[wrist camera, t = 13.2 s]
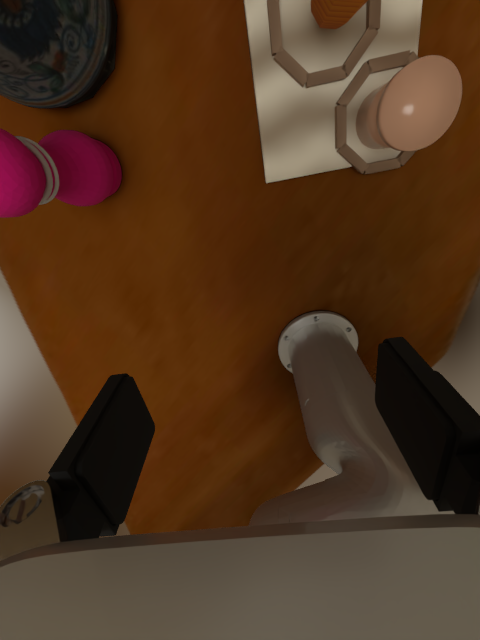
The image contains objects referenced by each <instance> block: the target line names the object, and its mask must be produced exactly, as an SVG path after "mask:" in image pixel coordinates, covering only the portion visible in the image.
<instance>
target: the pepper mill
mask: <svg viewBox="0 0 480 640" xmlns="http://www.w3.org/2000/svg"><path fill="white" fill-rule="evenodd" d="M121 179H122V171H121V166H120V163H119V161H118V159H117V157H116V155H115V154H114V152H113V151H112V150H111V149H110V148H109V147H108V146H107V145H105V144H104V143H102V142H100V141H98V140H95V139H92V138H91V137H89V136H87V135H86V134H84V133H81V132H78V131H74V130H58V131H55V132H52V133H50V134H48V135H47V136H45V137H44V138H43V139H42V140H41V141H40V142H39V143H38V144H37V143H36V142H34V141H32V140H30V139H27V138H24V137H20V136H13V135H11V134H10V133H8V132H7V131H5V130H3V129H0V217H18V216H22V215H25V214H27V213H29V212H31V211H32V210H34V209H35V208H36V207H37V206H38V205H40V204H45V203H48V202H49V201H51V200H52V199H53V198H54V197H56V198H57V199H59V200H61V201H63V202H65V203H68V204H72V205H76V206H91V205H95V204H98V203H100V202H101V201H103V200H104V199H105V198H106V197H108V196H110V195H112V194H114V193H115V192H116V191H117V189H118V188H119V186H120V184H121Z"/></svg>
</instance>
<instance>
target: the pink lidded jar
mask: <svg viewBox="0 0 480 640" xmlns="http://www.w3.org/2000/svg"><path fill="white" fill-rule="evenodd" d="M461 97H462V81H461V77H460V74H459V71H458V69H457V68H456V66H455V65H454V64H453V63H452V62H451V61H450V60H448V59H447V58H444V57H442V56H437V55H431V56H425V57H422V58H419V59H417V60H415V61H413V62H411V63H410V64H408V65H407V66H405V67H403V68H402V69H401V70H400V71H398V72H397V73H396V74H395V75H394V76H393V77H392V79H391V80H390V81H389V82H387V83H386V84H384V85H382V86H380V87H379V88H377V89H375V90H374V91H372V92H371V93H370V94H369V95H368V96H367V97H366V98H365V99H364V101H363V102H362V104H361V106H360V108H359V110H358V113H357V117H356V132H357V136H358V138H359V140H360V141H361V142H362V144H364V145H365V146H366V147H368V148H371V149H385V148H392V149H394V150H397V151H414V150H419V149H422V148H425V147H427V146H429V145H431V144H432V143H434V142H435V141H436V140H437V139H439V138H440V137H441V136H442V135H443V134H444V133H445V132H446V130H447V129H448V128H449V126H450V125H451V123H452V122H453V120H454V118H455V116H456V114H457V112H458V109H459V106H460V102H461Z"/></svg>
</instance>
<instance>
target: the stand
mask: <svg viewBox="0 0 480 640" xmlns="http://www.w3.org/2000/svg"><path fill="white" fill-rule="evenodd" d="M244 8H245V17H246V25H247V33H248V41H249V50H250V58H251V66H252V74H253V83H254V91H255V99H256V107H257V116H258V124H259V132H260V140H261V149H262V157H263V165H264V174H265V182H266V183H270V182H275V181H280V180H285V179H291V178H296V177H301V176H306V175H311V174H316V173H321V172H326V171H332V170H337V169H342V168H347V167H352V166H353V167H354V168H355V169H356V170H357V171H358V172H359V173H361V174H370V173H375V172H380V171H385V170H390V169H396V168H400V166H403V165H404V164H405V163H406V162H407V161H408V160H409V158H410V157H411V156H412V155H413V154H414V153H415V152H416V150H414V151H397V150H394V149H392V148H385V149H371V148H368V147H366V146H365V145H364V144H362V142H361V141H360V140H359V138H358V136H357V132H356V117H357V113H358V110H359V108H360V106H361V104H362V102H363V101H364V99H365V98H366V97H367V96H368V95H369V94H370V93H371V92H372V91H374V90H375V89H377V88H379V87H380V86H382V85H384V84H386V83H387V82H389V81H390V80H391V79H392V77H393V76H394V75H395V74H396V73H397V72H398V71H400V70H401V69H402V68H403V67H405V66H407V65H408V64H410V63H411V62H413V61H415V60H417V59H419V57H418V56H417V53H418V43H419V32H420V21H421V11H422V0H368V1H367V2H366V3H365V4H364V5H363V6H362V7H361V8H360V9H359V10H358V11H357V12H356V14H355V15H354V16H353V17H352V18H351V19H350V20H349V21H348V22H347V23H346V24H344V25H343V26H341V27H339V28H337V29H326V28H320V27H319V25H318V24H317V22H316V20H315V18H314V16H313V14H312V12H311V0H244Z"/></svg>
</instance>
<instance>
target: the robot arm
mask: <svg viewBox="0 0 480 640" xmlns="http://www.w3.org/2000/svg"><path fill="white" fill-rule="evenodd" d="M315 316H316V317H315ZM357 349H358V336H357V333H356V330H355V329H354V327H353V325H352V324H351V323H350V322H349V321H348V320H347V319H346V318H345V317H343V316H341V315H339V314H337V313H334V312H330V311H313V312H309V313H306V314H303V315H301V316H299V317H297V318H296V319H294V320H293V321H291V322H290V323H289V324H288V325H287V326H286V327H285V329H284V330H283V331H282V333H281V335H280V338H279V341H278V353H279V358H280V360H281V362H282V364H283V365H284V367H285V368H286V369H287V370H288V371H290V372H291V373H293V376H294V381H295V385H296V389H297V394H298V398H299V403H300V407H301V411H302V416H303V420H304V425H305V429H306V434H307V437H308V441H309V443H310V445H311V447H312V449H313V451H314V452H315V453H316V455H317V456H318V457H319V458H320V459H321V460H322V461H323V462H324V463H325V464H326V465H327V466H328V467H330V468H331V469H332V470H333V471H335V472H336V473H338V474H339V475H337V476H334V477H332V478H329V479H326V480H325V481H323V482H319V483H316V484H313V485H310V486H307V487H304V488H301V489H298V490H295V491H292V492H289V493H286V494H283V495H280V496H277V497H275V498H273V499H270V500H268V501H266V502H265V503H263V504H262V505H260V506H259V507H258V508H257V510H256V511H255V512H254V514H253V516H252V517H251V520H250V523H249V526H242V527H229V528H215V529H201V530H188V531H176V532H163V533H150V534H137V535H125V536H114V535H116V533H117V530H118V527H119V524H122V523H123V522H124V520H125V518H126V515H127V512H128V509H129V506H130V503H131V500H132V497H133V494H134V491H135V488H136V485H137V482H138V479H139V476H140V473H141V470H142V467H143V464H144V462H145V459H146V456H147V453H148V450H149V447H150V444H151V441H152V438H153V435H154V432H155V425H154V422H153V420H152V417H151V415H150V413H149V411H148V409H147V407H146V404H145V402H144V400H143V398H142V396H141V394H140V391H139V389H138V387H137V385H136V383H135V381H134V379H133V377H131V376H130V377H129V375H128V374H117V375H112V376H110V377H109V378H108V380H107V381H106V383H105V385H104V386H103V388H102V389H101V391H100V392H99V394H98V396H97V397H96V399H95V400H94V402H93V403H92V405H91V407H90V408H89V410H88V411H87V413H86V414H85V416H84V417H83V419H82V421H81V422H80V424H79V425H78V427H77V428H76V430H75V432H74V433H73V435H72V436H71V438H70V439H69V441H68V443H67V444H66V446H65V447H64V449H63V450H62V452H61V454H60V455H59V457H58V458H57V460H56V461H55V463H54V464H53V466H52V468H51V469H50V471H49V472H48V473H49V474H50V477H49V478H48V480H47V481H44V480H37V481H33V482H30V483H28V484H26V485H24V486H22V487H20V488H19V489H18V490H16V491H15V492H14V493H12V494H11V495H10V496H9V497H8V498H7V499H6V500H5V501H4V503H3V504H2V505H1V506H0V640H480V416H479V415H478V413H477V412H476V411H475V410H474V409H473V408H472V407H471V406H470V405H469V404H468V403H467V402H466V401H465V399H464V398H462V396H461V395H460V394H459V393H458V392H457V391H456V390H455V389H454V388H453V386H452V385H451V384H450V383H449V382H448V381H447V380H446V379H445V378H444V377H443V376H442V375H441V374H440V373H439V372H437V371H433V369H432V368H431V367H430V366H429V365H428V364H427V363H426V362H425V361H424V359H423V358H422V357H421V356H420V355H419V354H418V353H417V352H416V351H415V350H414V348H413V347H412V346H411V345H410V344H409V343H408V342H407V341H406V340H405V339H404V338H403V337H396V338H389V339H385V340H384V341H383V343H382V344H379V346H378V359H377V373H376V385H375V383H374V382H373V380H372V378H371V376H370V375H369V373H368V371H367V370H366V368H365V366H364V365H363V363H362V361H361V359H360V358H359V356H358V354H357V353H356V352H357ZM99 536H114V537H104V538H99Z"/></svg>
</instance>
